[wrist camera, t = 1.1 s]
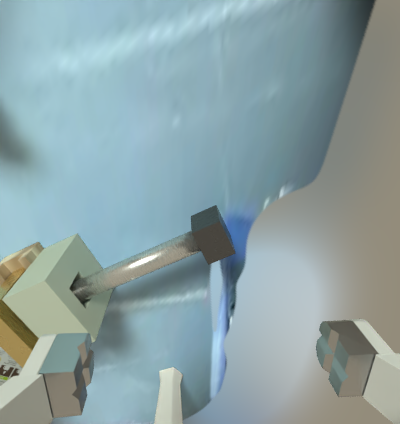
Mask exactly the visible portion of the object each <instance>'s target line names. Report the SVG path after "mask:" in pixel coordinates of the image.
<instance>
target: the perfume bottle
mask: <svg viewBox="0 0 400 424" xmlns="http://www.w3.org/2000/svg"><path fill="white" fill-rule="evenodd" d="M159 375H160V389H159V396H158V402H157V409H156V416H155V422H154V424H183V422H182V405H181V389H180V383H181V380H182V377H183V375H182V374H181V373H180V372H179V371H178V370H177V369H175V368H174V367H171V368H168V369H165V370H161V371H159Z"/></svg>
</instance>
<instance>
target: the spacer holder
mask: <svg viewBox="0 0 400 424" xmlns="http://www.w3.org/2000/svg"><path fill="white" fill-rule="evenodd" d="M43 249H44V248H43V247H42V246H41V244H40V243H39V242H37V243H35V244H33V245H31V246H29V247H26V248H24V249H22V250H20V251H18V252H16V253H14V254H11V255H9V256H7V257H5V258H4V259H3V260H2V261H1V262H0V286H1V285H2V284H3V282H4V281H5V280H6V279H7V278H8V277H9V276H10V275H11V273H12V272H13V271H15V270H18V269H20V268H22V267H24V268H25V269H26V270H27V268H28V267H29V266H30V265H31V264H32V263H33V261H34V260H35V259H36V258H37V257H38V255H39V254H40V253H41V252H42V250H43Z"/></svg>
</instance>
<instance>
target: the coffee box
mask: <svg viewBox="0 0 400 424" xmlns="http://www.w3.org/2000/svg"><path fill="white" fill-rule="evenodd" d="M22 369H23V368H22V367H21V366H20V365H19V364H18V363H17V362H16V361H15V360H14V359H13V358H12V357H11V356H10V355H8V354H7V353H6V352H5V351H4V350H3V349H2V348H1V347H0V386H1V385H2V384H4V383H5V382H6V381H8V380H9V379H10V378H12V377H13V376H19V374H20V372H21V370H22Z"/></svg>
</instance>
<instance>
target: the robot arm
mask: <svg viewBox="0 0 400 424" xmlns="http://www.w3.org/2000/svg"><path fill="white" fill-rule="evenodd" d="M319 331H320V332H321V334H322V336H321V337H320V338H319V339H318V340H317V345H316V351H317V357H318V360H319V362H320V364H321V366H322V368H323V369H325V370H326V371H327V372H329V373H330V375H329V381H330V383H331V385H332V386H333V388H334V390H335V392H336V394H337V395H338V397H349V396H363V398H364V399H365V400H367V401H368V402H369V403H370V404H371V405H372V406H374V407H375V408H376V409H377V410H378V411H380V412H381V413H382V414H383V415H384V416H385V417H387V418H388V419H389V420H390V421H391V422H392V423H394V424H400V354H398V353H397V354H395V353H394V352H393V351H392V350H391V349H390V347H389V346H388V345H387V344H386V343H385V342H384V340H383V339H382V338H381V337H380V336H379V335H378V334H377V332H376V331H375V330H374V329H373V328H372V327H371V325H370V324H369V323H368V322H367V321H366V320H364V319H355V320H342V321H324V322H322V323H321V325H320V329H319ZM91 343H92V340H91V335H90V333H60V334H43V335H42V336H41V337H40V338H39V339H38V341H37V343H36V345H35V347H34V349H33V350H32V352H31V354H30V356H29V358H28V359H27V361H26V363H25V365H24V367H23V369H22V370H21V372H20V374H19V376H13V377H12V378H10V379H9V380H8V381H6V382H5V383H4V384H2V385H1V386H0V424H50V423H51V421H52V420H53V418H57V417H67V416H77V415H82V411H83V408H84V404H85V401H86V397H87V390H86V387H87V386H88V385H89V384H90V383H91V380H92V376H93V369H94V354H93V351H92V350H91V349H90V346H91Z"/></svg>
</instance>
